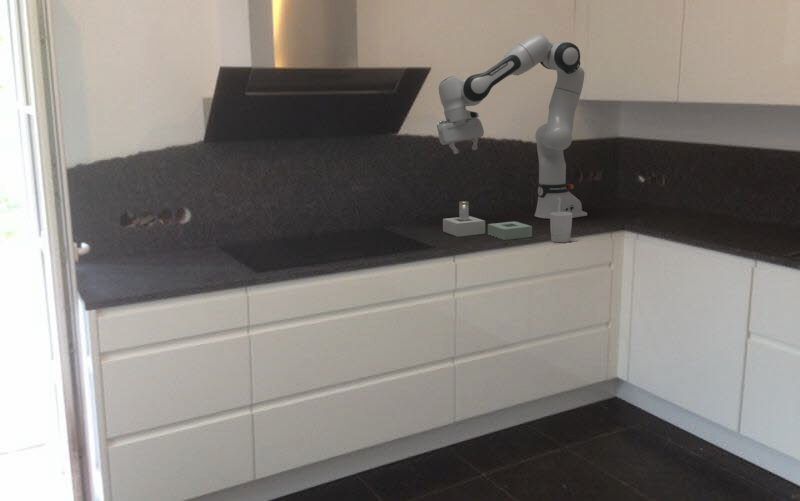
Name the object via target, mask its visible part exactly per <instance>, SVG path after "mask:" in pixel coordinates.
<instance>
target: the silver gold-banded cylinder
mask: <svg viewBox="0 0 800 501" xmlns="http://www.w3.org/2000/svg"><path fill="white" fill-rule="evenodd" d="M469 203H470V202H469V201H467V200H463V201H462V200H461V201H459V202H458V204H459V205H458V206H459V207H458V210H459V211H458V212H459V213H458V214H459V221H460V222H462V221H469V216H470V214H469V209H470V208H469V207H470V206H469V205H470V204H469Z"/></svg>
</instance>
